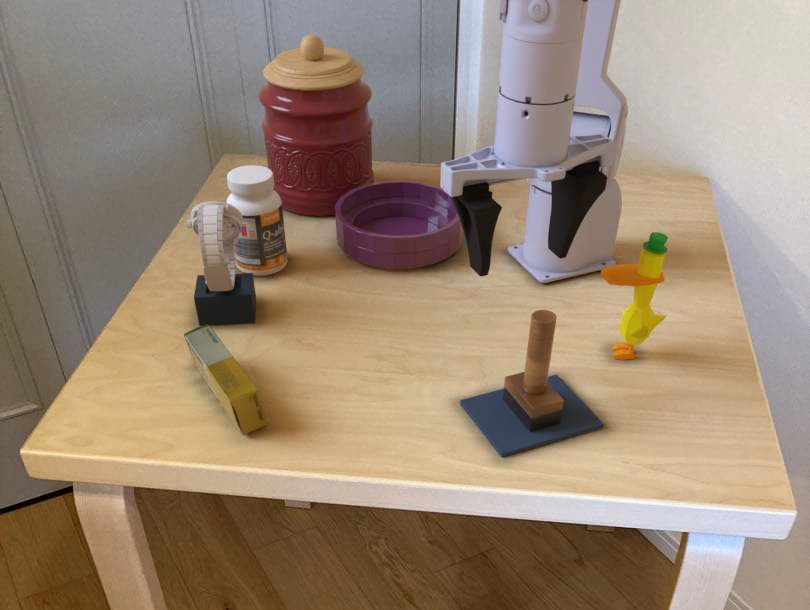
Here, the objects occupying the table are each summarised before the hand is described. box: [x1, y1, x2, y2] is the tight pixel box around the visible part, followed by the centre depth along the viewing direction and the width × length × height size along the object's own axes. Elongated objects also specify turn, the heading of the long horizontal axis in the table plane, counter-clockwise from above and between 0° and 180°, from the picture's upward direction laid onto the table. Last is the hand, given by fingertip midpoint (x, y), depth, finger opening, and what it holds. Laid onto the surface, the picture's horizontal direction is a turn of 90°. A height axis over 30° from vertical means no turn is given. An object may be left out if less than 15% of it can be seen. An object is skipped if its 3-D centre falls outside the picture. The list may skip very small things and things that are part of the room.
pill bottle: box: [225, 164, 288, 277], centre depth 88 cm, size 6×6×10 cm
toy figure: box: [600, 231, 669, 361], centre depth 76 cm, size 7×4×12 cm, turn 87°
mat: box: [459, 373, 605, 458], centre depth 74 cm, size 10×8×1 cm
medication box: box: [183, 324, 269, 436], centre depth 74 cm, size 12×3×4 cm, turn 30°
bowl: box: [334, 179, 464, 270], centre depth 94 cm, size 14×14×4 cm
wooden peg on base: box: [503, 309, 564, 432], centre depth 70 cm, size 3×5×10 cm, turn 24°
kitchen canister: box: [257, 33, 375, 217], centre depth 98 cm, size 13×13×18 cm
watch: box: [186, 200, 257, 327], centre depth 81 cm, size 6×8×11 cm
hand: (518, 261), depth 72 cm, fingers open, 7 cm apart
